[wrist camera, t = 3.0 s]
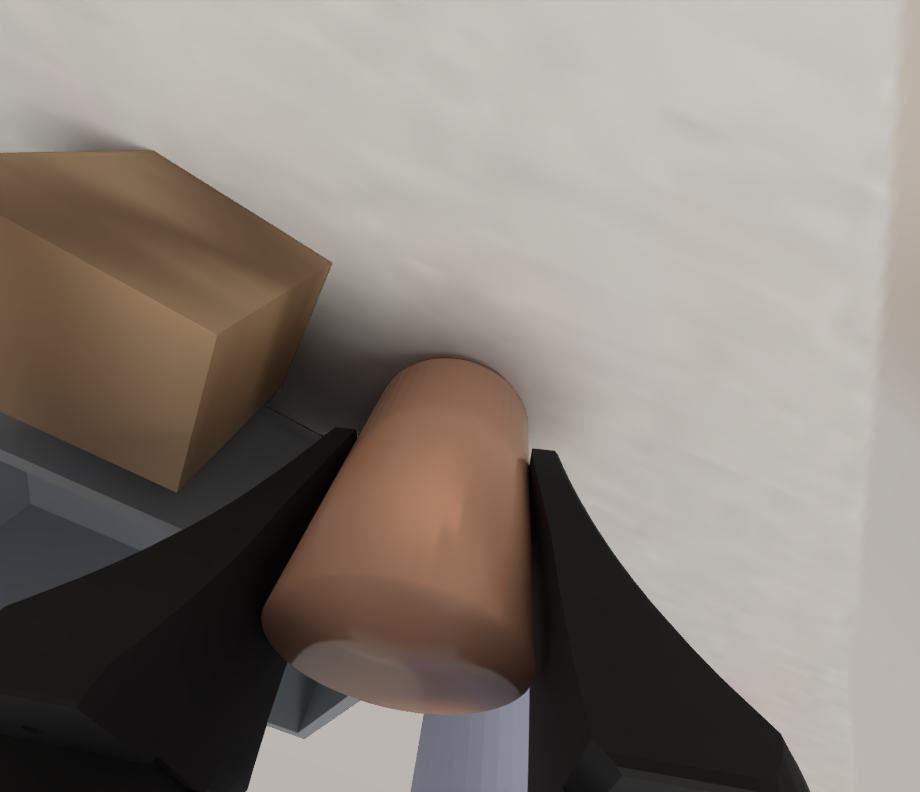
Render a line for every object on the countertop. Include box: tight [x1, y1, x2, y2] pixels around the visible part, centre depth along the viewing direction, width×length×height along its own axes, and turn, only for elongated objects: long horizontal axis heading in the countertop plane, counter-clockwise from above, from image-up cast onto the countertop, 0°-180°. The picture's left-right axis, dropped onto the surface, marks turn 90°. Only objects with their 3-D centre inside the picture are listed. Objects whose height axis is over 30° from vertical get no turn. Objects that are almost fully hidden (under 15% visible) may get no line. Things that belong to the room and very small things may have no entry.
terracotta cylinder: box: [261, 358, 535, 715], centre depth 10 cm, size 5×5×7 cm
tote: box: [0, 406, 360, 739], centre depth 15 cm, size 17×13×5 cm
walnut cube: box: [0, 151, 332, 493], centre depth 10 cm, size 5×5×5 cm
